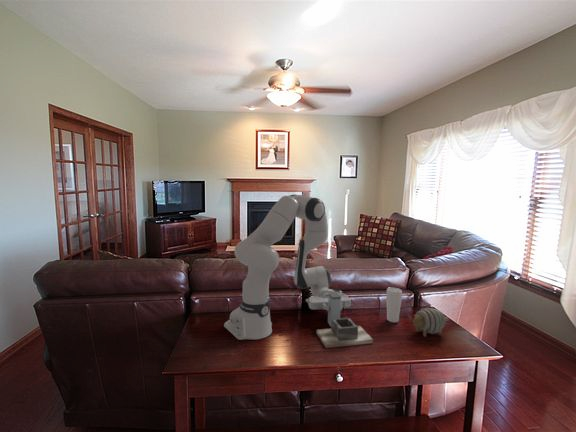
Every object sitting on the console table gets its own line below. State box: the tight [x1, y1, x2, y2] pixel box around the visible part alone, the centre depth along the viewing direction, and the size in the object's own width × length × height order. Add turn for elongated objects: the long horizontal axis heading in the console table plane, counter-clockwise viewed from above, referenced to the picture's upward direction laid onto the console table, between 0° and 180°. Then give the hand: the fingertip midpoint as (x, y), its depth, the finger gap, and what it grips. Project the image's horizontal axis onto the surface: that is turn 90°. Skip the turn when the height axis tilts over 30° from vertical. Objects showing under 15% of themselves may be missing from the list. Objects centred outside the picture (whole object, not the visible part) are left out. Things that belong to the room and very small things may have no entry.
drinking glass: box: [385, 287, 403, 323], centre depth 138 cm, size 7×7×15 cm
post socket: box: [316, 317, 374, 349], centre depth 122 cm, size 12×20×6 cm, turn 102°
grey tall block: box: [327, 293, 342, 328], centre depth 134 cm, size 5×4×14 cm
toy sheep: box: [412, 307, 450, 338], centre depth 127 cm, size 11×17×11 cm, turn 107°
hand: (334, 309), depth 133 cm, fingers closed on grey tall block, 4 cm apart
